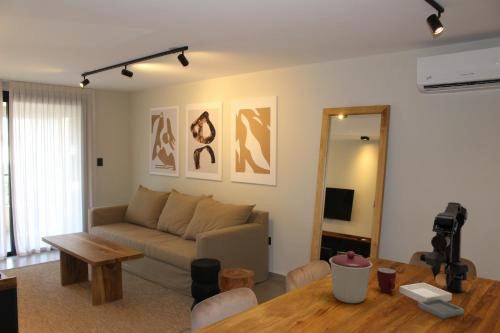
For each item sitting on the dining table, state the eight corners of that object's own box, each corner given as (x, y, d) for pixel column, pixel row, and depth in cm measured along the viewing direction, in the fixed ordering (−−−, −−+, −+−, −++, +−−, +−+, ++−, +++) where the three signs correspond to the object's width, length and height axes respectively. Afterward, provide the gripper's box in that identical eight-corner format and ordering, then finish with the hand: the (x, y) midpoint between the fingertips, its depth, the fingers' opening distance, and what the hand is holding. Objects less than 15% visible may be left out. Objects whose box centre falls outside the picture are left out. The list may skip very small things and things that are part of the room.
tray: (438, 303, 167) (438, 298, 167) (463, 314, 156) (464, 309, 156) (418, 307, 162) (418, 302, 162) (442, 319, 151) (443, 313, 151)
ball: (440, 282, 162) (441, 271, 162) (451, 286, 158) (452, 274, 157) (432, 284, 160) (432, 272, 160) (442, 288, 156) (443, 276, 155)
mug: (402, 296, 175) (403, 274, 174) (387, 297, 172) (388, 275, 172) (387, 287, 185) (388, 267, 184) (372, 289, 182) (373, 268, 182)
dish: (423, 288, 185) (423, 282, 185) (451, 300, 171) (451, 293, 171) (399, 292, 179) (399, 286, 179) (426, 305, 165) (427, 298, 165)
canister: (377, 299, 170) (380, 251, 169) (358, 311, 156) (360, 259, 155) (341, 288, 182) (342, 244, 181) (319, 298, 169) (321, 250, 168)
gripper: (411, 241, 163) (409, 278, 164) (450, 253, 146) (448, 293, 147) (430, 239, 168) (428, 275, 169) (470, 250, 151) (468, 290, 152)
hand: (442, 283), depth 159 cm, fingers closed on ball, 5 cm apart
